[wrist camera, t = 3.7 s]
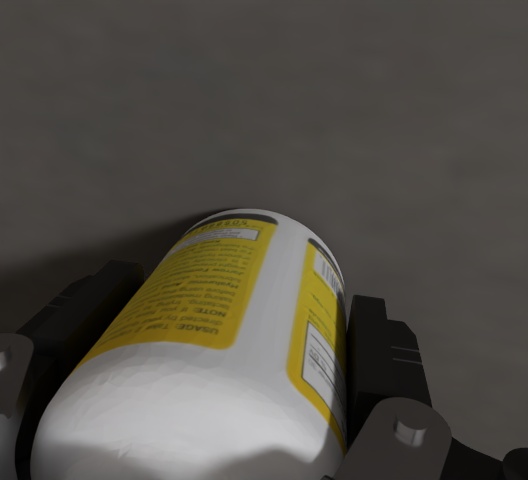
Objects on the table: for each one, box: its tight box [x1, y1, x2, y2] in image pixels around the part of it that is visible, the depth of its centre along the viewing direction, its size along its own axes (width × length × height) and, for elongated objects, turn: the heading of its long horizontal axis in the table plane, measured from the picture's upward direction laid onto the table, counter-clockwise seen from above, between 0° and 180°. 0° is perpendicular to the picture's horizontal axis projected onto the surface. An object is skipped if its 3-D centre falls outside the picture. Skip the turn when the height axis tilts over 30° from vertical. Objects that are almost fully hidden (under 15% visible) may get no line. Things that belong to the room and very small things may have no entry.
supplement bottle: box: [30, 209, 347, 480], centre depth 10 cm, size 5×5×10 cm
